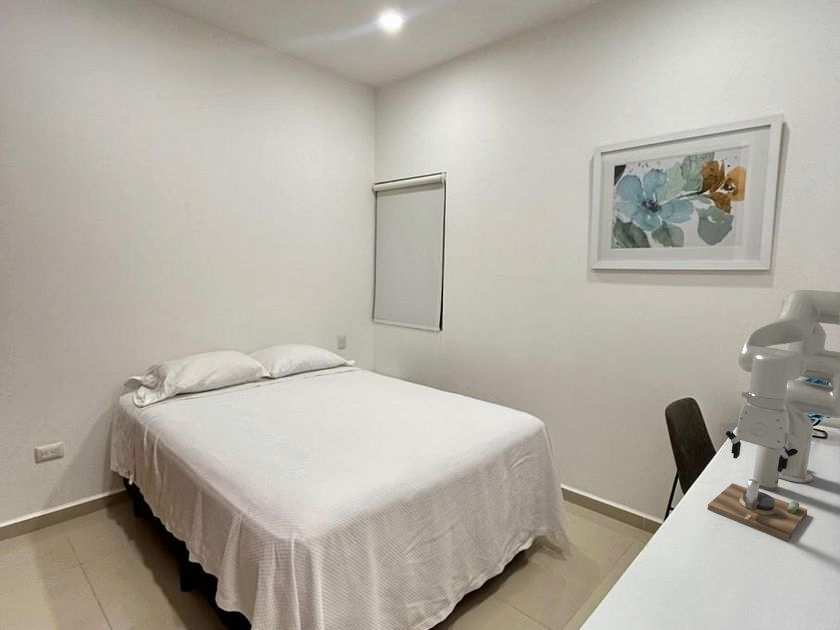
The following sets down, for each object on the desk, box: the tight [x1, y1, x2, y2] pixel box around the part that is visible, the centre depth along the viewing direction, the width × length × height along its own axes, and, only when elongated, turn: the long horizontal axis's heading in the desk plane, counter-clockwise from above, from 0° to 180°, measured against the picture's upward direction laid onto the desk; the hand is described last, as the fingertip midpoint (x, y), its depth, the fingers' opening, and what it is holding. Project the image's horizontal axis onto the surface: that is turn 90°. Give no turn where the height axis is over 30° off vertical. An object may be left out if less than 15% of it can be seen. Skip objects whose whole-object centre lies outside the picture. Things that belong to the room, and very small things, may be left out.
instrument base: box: [707, 482, 808, 543], centre depth 127 cm, size 20×18×3 cm
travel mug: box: [752, 445, 781, 492], centre depth 140 cm, size 6×7×20 cm
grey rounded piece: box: [743, 478, 775, 511], centre depth 124 cm, size 7×13×9 cm, turn 130°
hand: (757, 463), depth 120 cm, fingers open, 9 cm apart
